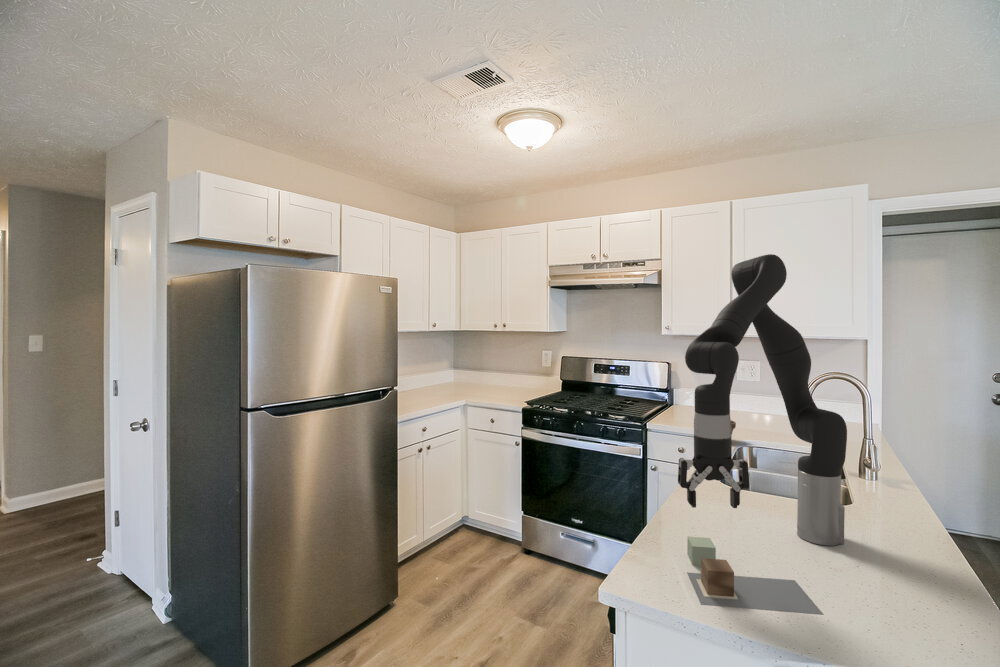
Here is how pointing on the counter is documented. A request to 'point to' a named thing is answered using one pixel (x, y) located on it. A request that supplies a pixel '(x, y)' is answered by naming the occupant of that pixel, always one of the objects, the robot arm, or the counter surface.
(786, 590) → the build mat
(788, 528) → the counter surface
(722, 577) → the walnut block
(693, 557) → the sage block
